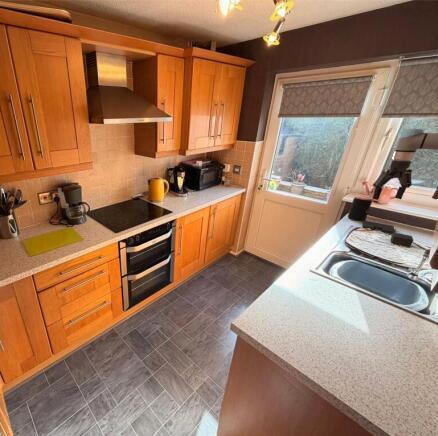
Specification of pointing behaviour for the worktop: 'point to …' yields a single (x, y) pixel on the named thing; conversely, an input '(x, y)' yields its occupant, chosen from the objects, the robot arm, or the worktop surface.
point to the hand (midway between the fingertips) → (386, 198)
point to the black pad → (401, 239)
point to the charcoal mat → (378, 226)
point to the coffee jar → (360, 207)
